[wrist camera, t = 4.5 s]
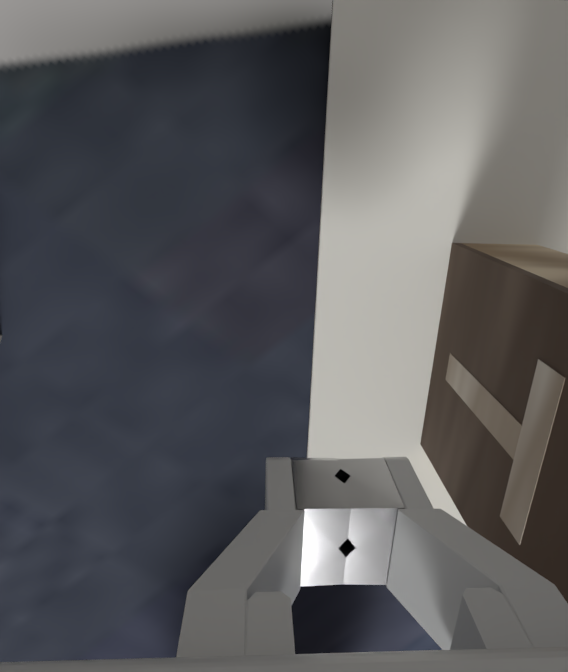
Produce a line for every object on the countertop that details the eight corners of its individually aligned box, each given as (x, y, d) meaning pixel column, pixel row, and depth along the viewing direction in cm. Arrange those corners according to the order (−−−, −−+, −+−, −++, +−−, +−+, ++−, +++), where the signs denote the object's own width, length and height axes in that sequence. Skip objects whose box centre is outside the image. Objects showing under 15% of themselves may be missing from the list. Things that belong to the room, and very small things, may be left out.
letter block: (537, 244, 16) (849, 341, 8) (492, 443, 19) (683, 674, 10) (451, 242, 16) (672, 340, 7) (419, 443, 19) (553, 679, 10)
